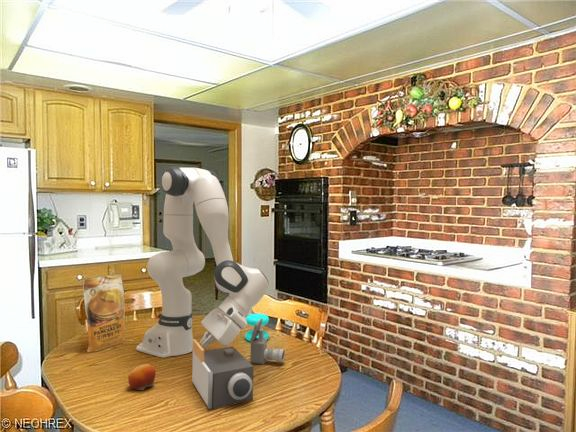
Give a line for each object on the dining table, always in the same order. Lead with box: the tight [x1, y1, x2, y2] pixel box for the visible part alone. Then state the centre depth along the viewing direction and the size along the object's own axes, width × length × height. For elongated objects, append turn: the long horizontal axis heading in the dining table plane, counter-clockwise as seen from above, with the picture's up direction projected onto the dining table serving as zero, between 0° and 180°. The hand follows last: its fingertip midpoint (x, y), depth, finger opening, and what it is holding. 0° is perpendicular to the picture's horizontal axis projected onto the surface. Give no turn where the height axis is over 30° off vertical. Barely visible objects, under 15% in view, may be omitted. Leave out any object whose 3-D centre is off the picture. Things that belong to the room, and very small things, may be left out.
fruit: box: [127, 363, 157, 391], centre depth 124 cm, size 8×8×8 cm
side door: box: [191, 338, 213, 410], centre depth 119 cm, size 19×1×14 cm, turn 27°
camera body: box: [204, 346, 254, 409], centre depth 121 cm, size 20×12×11 cm, turn 27°
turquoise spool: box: [244, 313, 270, 342], centre depth 170 cm, size 10×10×10 cm
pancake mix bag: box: [81, 273, 126, 353], centre depth 158 cm, size 7×19×28 cm, turn 149°
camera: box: [249, 318, 286, 365], centre depth 145 cm, size 9×12×15 cm
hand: (201, 346), depth 126 cm, fingers closed
